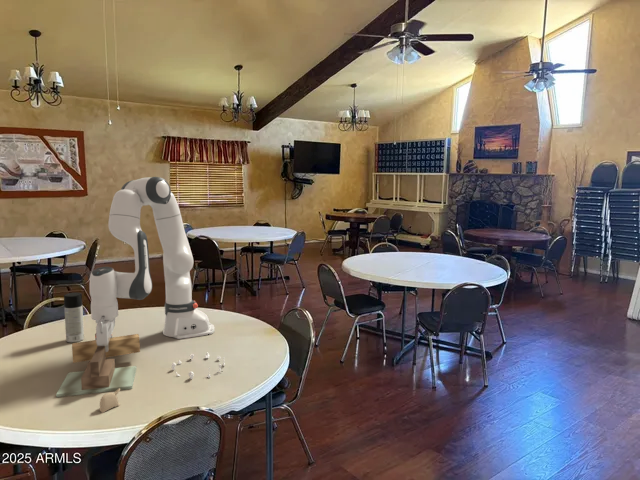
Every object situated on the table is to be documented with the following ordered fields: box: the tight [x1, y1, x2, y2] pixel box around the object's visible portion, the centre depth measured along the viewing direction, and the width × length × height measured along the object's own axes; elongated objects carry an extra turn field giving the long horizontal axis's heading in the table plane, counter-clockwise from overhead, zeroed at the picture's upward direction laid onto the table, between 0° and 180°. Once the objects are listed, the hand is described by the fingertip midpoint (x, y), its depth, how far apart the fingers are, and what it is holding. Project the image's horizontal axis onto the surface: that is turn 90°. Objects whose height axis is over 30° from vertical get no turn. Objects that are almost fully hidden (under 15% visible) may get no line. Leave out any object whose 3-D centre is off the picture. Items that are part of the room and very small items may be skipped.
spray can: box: [63, 292, 85, 344], centre depth 184 cm, size 7×7×20 cm
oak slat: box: [71, 333, 141, 364], centre depth 161 cm, size 22×4×6 cm, turn 118°
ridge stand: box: [55, 346, 137, 398], centre depth 148 cm, size 22×16×10 cm
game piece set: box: [171, 352, 226, 380], centre depth 161 cm, size 19×20×4 cm
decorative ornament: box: [99, 388, 121, 414], centre depth 133 cm, size 3×7×4 cm, turn 144°
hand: (107, 348), depth 161 cm, fingers closed on oak slat, 4 cm apart
